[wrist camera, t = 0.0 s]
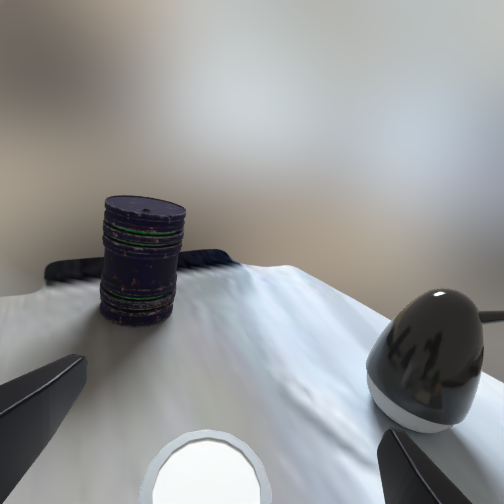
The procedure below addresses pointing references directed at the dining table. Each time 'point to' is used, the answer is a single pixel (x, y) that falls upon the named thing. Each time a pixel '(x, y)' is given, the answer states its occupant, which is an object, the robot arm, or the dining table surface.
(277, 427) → the dining table surface
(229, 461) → the white cup
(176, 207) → the storage jar
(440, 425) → the pump dispenser
